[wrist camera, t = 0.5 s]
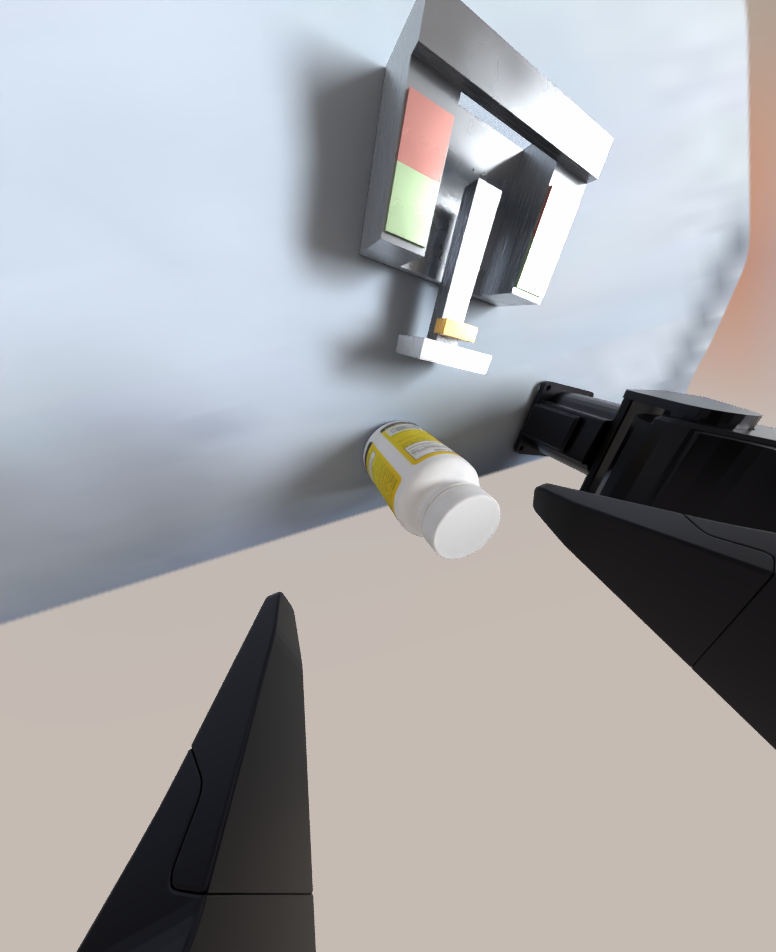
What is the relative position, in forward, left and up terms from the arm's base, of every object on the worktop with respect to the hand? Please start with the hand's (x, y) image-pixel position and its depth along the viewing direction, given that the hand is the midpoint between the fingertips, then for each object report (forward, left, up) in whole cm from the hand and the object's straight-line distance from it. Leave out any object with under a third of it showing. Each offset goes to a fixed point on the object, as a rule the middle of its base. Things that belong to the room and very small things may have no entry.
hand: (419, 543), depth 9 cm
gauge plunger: (-5, -9, -11) cm, 15 cm away
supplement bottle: (-5, +2, -13) cm, 13 cm away
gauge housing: (-5, -13, -12) cm, 18 cm away
